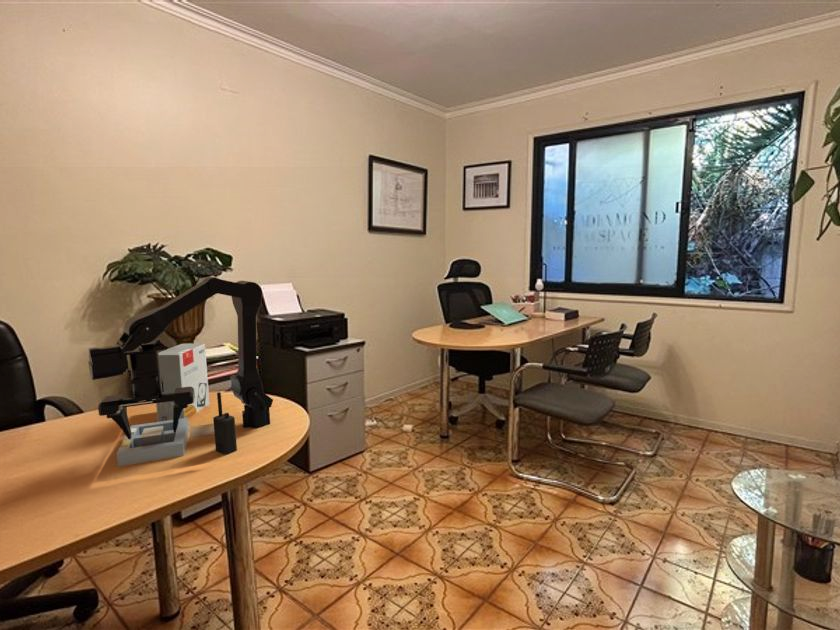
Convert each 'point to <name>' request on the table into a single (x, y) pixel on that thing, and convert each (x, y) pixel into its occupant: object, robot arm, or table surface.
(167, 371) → the hard drive box
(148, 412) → the table surface
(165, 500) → the table surface
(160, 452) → the dock
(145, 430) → the plug
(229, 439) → the walkie-talkie
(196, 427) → the brown flat square plate
